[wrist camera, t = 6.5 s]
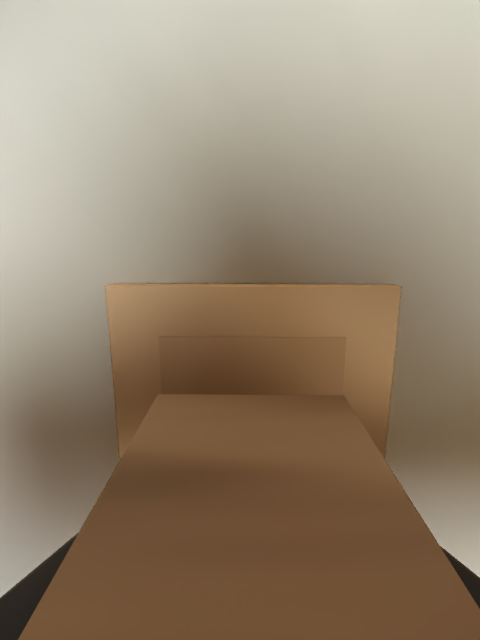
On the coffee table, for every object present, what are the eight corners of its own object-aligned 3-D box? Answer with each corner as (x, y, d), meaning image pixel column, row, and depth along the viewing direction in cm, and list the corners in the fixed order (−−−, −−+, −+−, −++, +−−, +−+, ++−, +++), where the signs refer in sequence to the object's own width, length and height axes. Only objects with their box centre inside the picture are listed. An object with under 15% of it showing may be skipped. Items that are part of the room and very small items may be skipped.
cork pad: (370, 522, 12) (377, 539, 11) (132, 520, 12) (125, 536, 11) (392, 284, 10) (402, 287, 9) (113, 283, 10) (104, 286, 10)
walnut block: (333, 550, 8) (453, 971, 4) (166, 548, 9) (60, 960, 4) (343, 395, 8) (520, 674, 3) (157, 394, 8) (3, 663, 3)
